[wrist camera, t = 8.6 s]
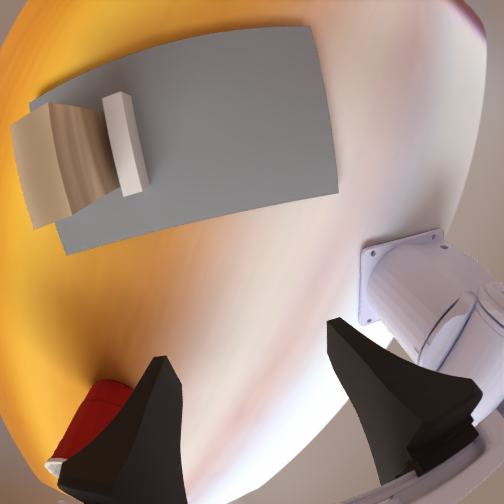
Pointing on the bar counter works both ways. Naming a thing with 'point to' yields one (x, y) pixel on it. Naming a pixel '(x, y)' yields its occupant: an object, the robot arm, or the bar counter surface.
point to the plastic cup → (89, 420)
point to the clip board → (204, 131)
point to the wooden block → (62, 160)
